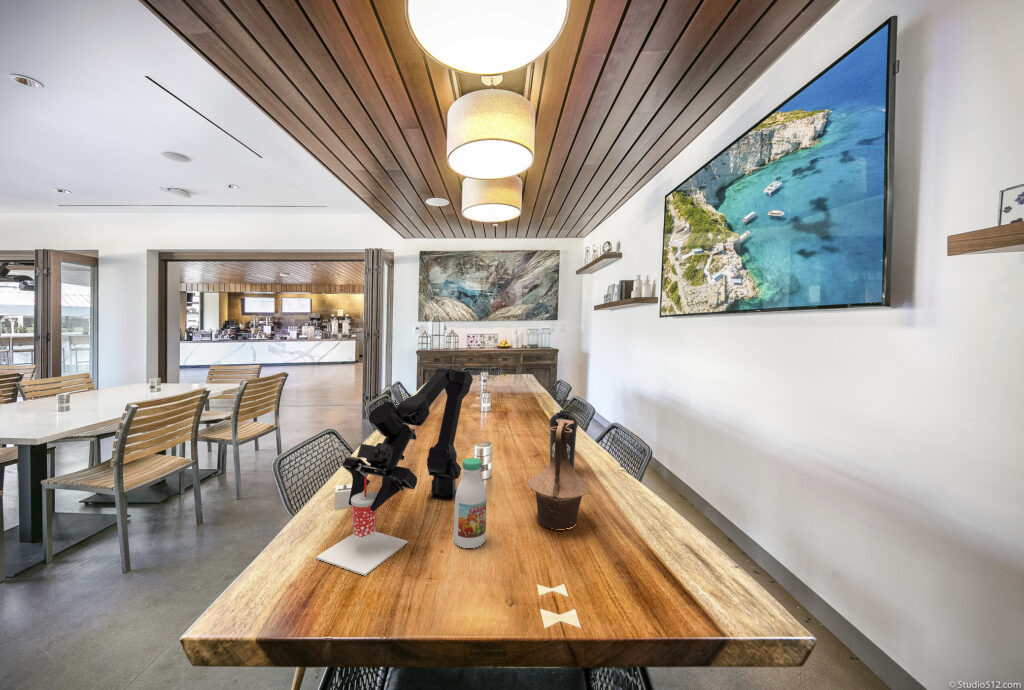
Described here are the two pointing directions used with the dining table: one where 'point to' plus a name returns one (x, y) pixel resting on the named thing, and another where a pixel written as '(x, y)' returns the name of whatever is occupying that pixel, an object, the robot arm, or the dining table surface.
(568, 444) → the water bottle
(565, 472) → the pitcher
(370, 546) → the mat
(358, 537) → the beverage cup
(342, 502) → the letter block
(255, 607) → the dining table surface
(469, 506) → the milk bottle
